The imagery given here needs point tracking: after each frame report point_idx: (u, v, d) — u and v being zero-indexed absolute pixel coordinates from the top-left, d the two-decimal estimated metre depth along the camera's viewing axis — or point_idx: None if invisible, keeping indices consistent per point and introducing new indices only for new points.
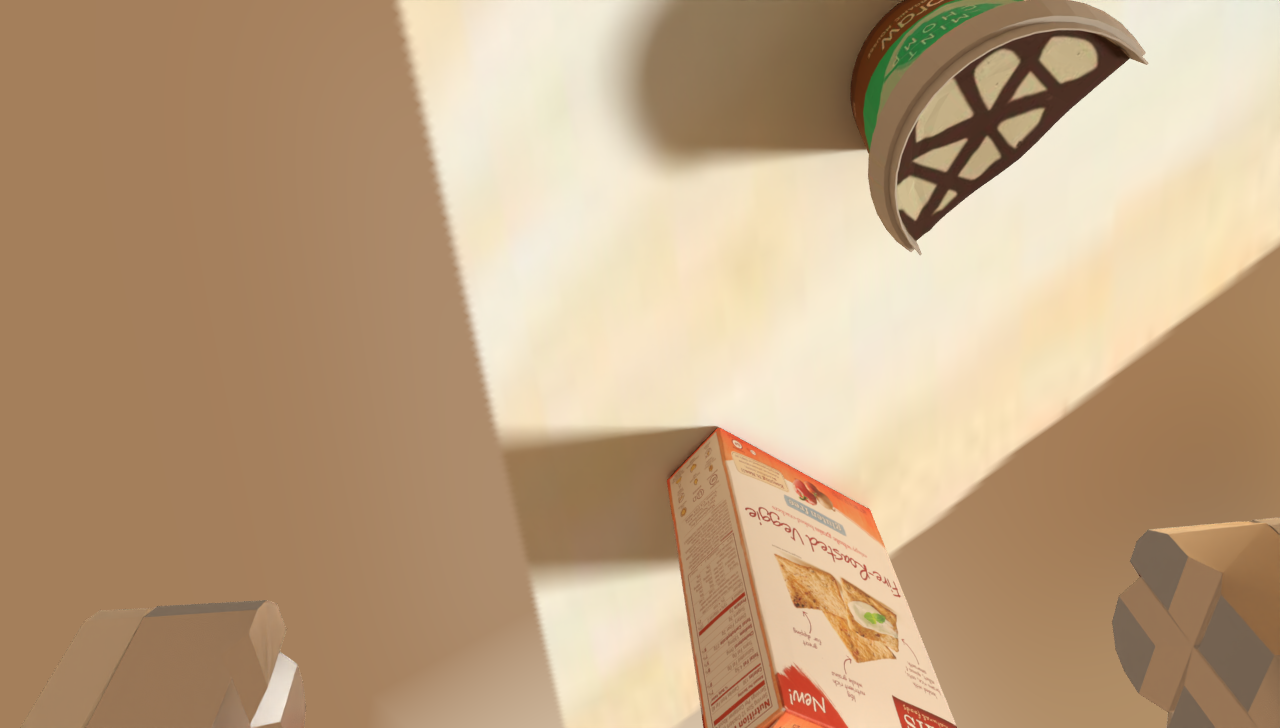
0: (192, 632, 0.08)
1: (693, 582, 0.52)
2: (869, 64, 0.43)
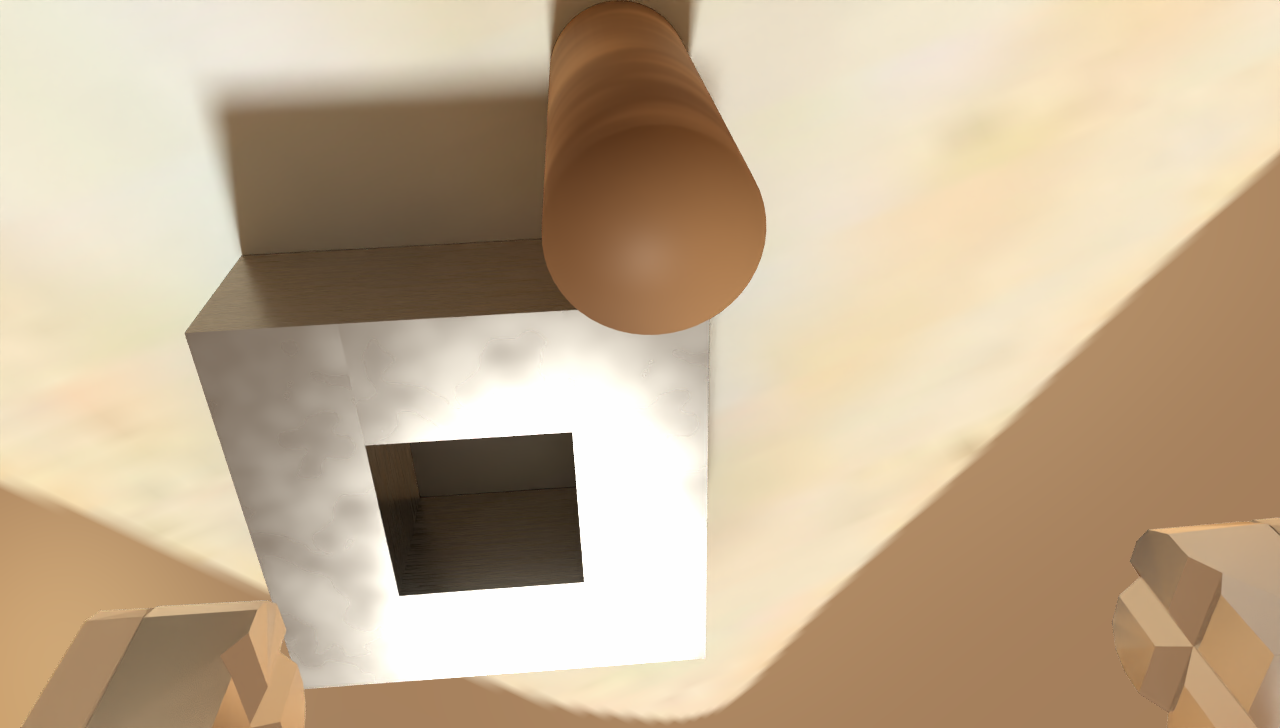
0: (192, 632, 0.08)
1: None
2: None
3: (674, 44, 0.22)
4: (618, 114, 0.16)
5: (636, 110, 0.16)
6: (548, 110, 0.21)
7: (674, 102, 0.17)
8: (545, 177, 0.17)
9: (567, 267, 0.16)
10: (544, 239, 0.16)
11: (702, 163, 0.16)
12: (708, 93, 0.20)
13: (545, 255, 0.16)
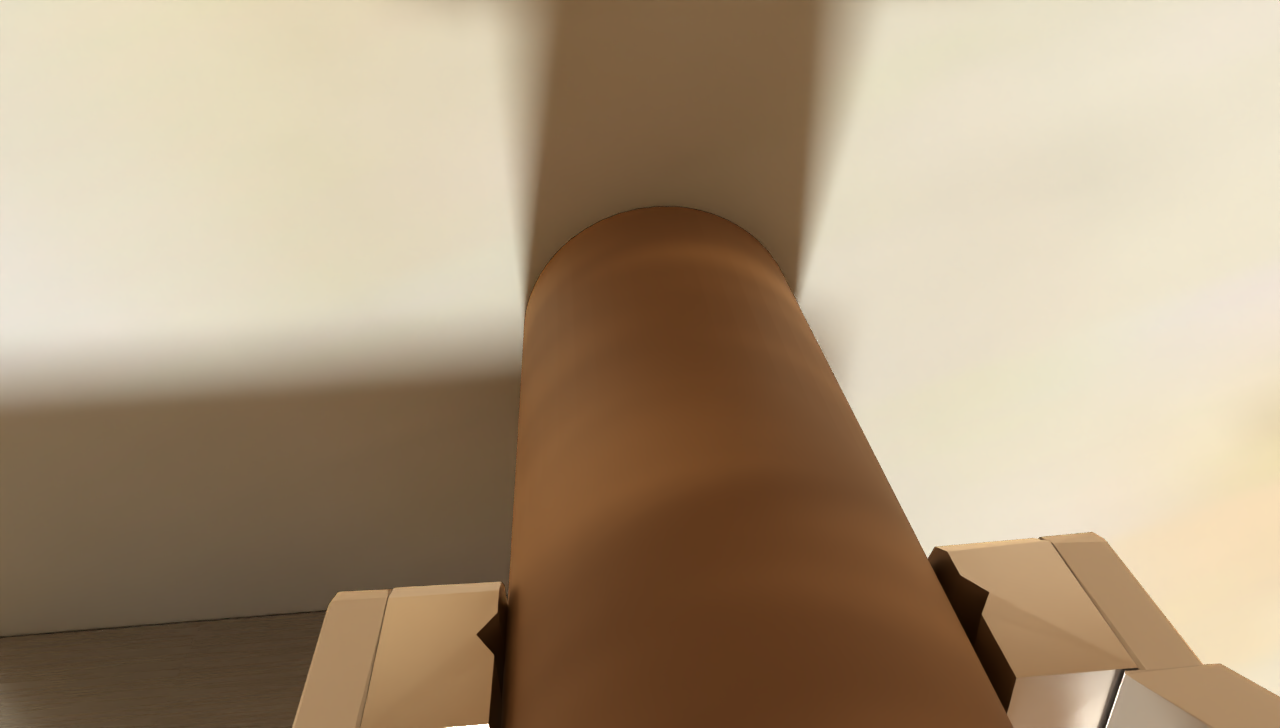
0: (441, 612, 0.08)
1: None
2: None
3: (813, 378, 0.09)
4: None
5: None
6: (511, 577, 0.09)
7: None
8: None
9: None
10: None
11: None
12: (947, 602, 0.07)
13: None
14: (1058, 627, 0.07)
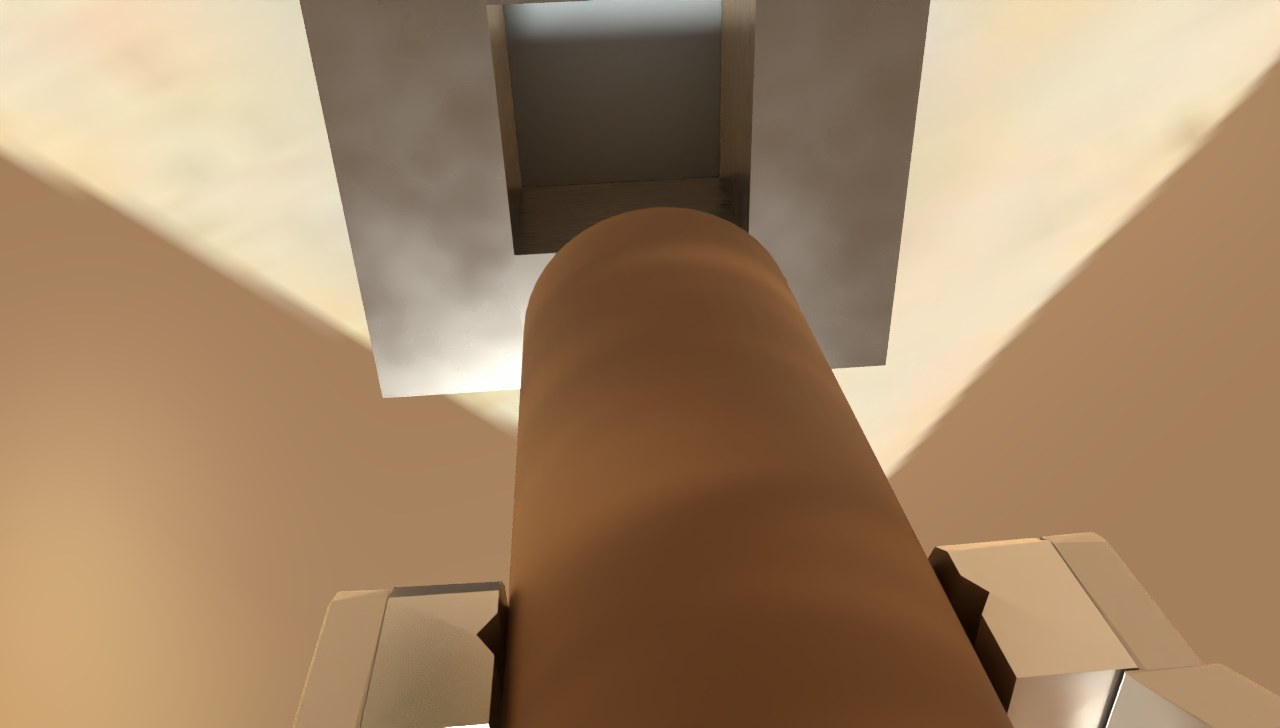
0: (441, 612, 0.08)
1: None
2: None
3: (814, 380, 0.09)
4: None
5: None
6: (511, 580, 0.09)
7: None
8: None
9: None
10: None
11: None
12: (949, 605, 0.07)
13: None
14: (1056, 626, 0.07)
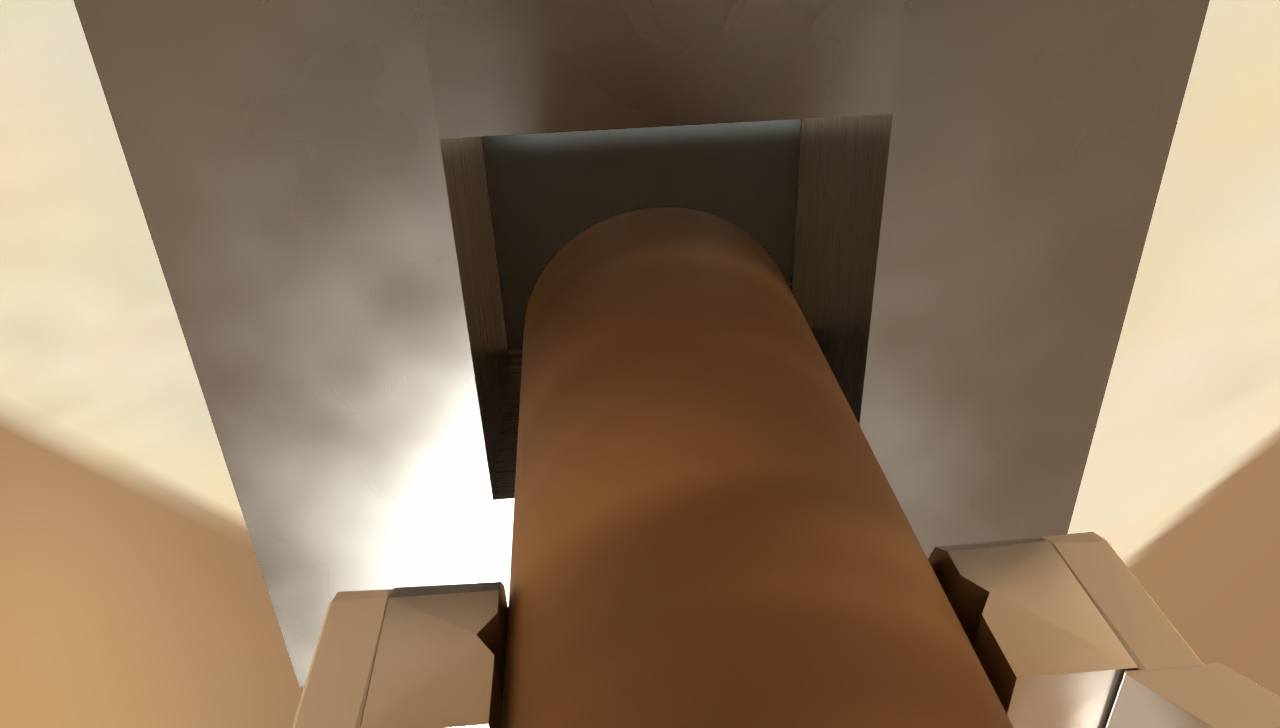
0: (441, 612, 0.08)
1: None
2: None
3: (814, 380, 0.09)
4: None
5: None
6: (511, 579, 0.09)
7: None
8: None
9: None
10: None
11: None
12: (949, 605, 0.07)
13: None
14: (1057, 628, 0.07)
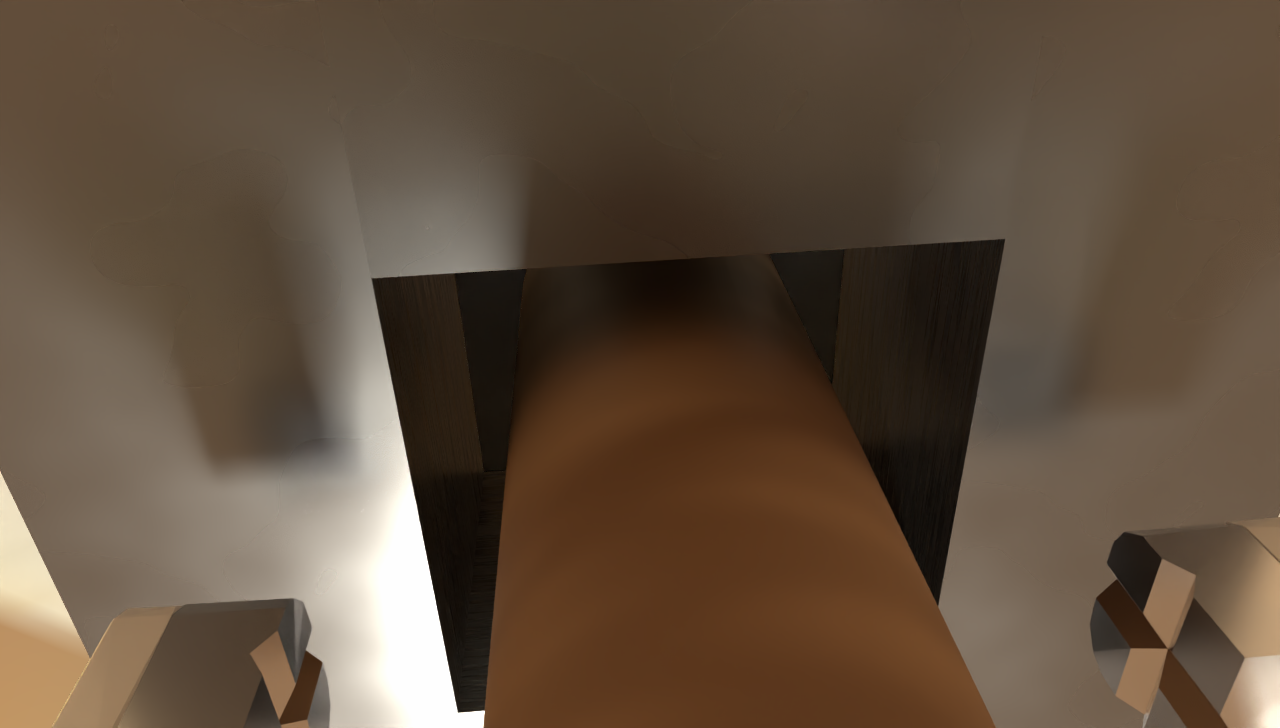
0: (221, 630, 0.08)
1: None
2: None
3: (783, 332, 0.10)
4: None
5: None
6: (503, 508, 0.09)
7: None
8: None
9: None
10: None
11: None
12: (895, 523, 0.08)
13: None
14: (1271, 609, 0.07)
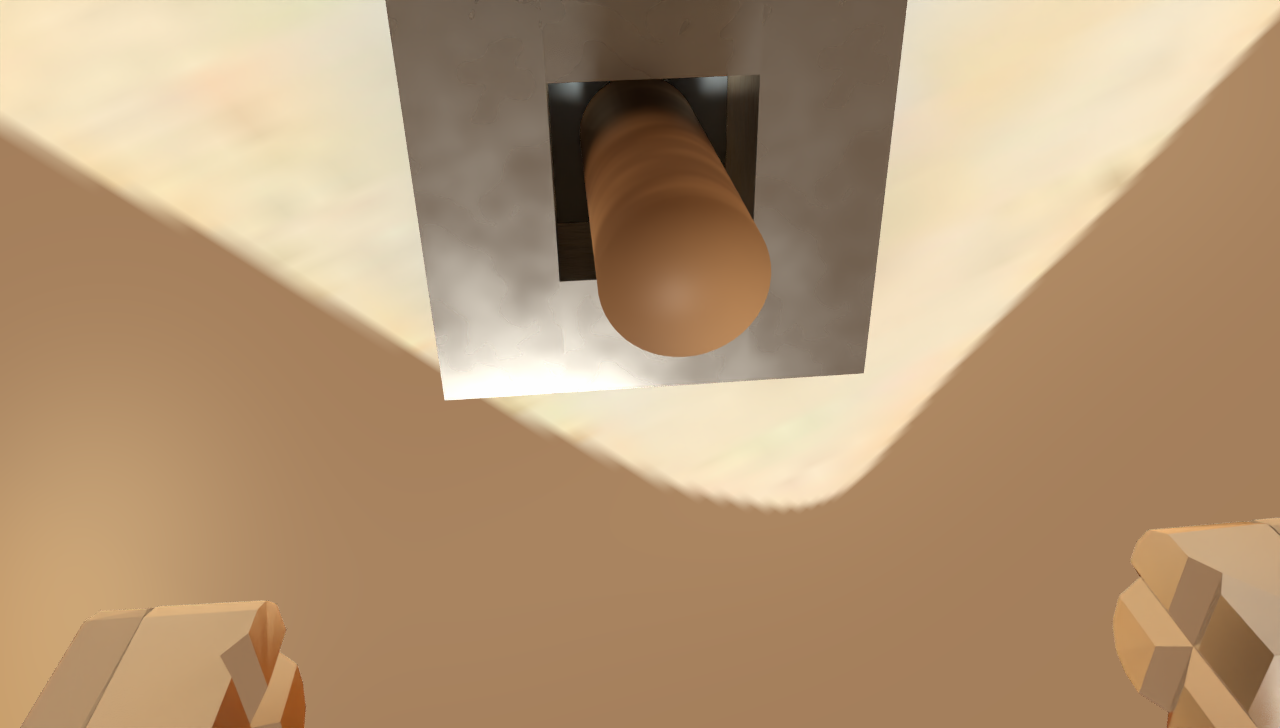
0: (192, 632, 0.08)
1: None
2: None
3: (689, 117, 0.27)
4: (657, 186, 0.21)
5: (670, 183, 0.21)
6: (587, 172, 0.26)
7: (699, 175, 0.21)
8: (595, 232, 0.22)
9: (616, 304, 0.21)
10: (599, 282, 0.21)
11: (722, 225, 0.20)
12: (720, 161, 0.25)
13: (599, 295, 0.21)
14: None
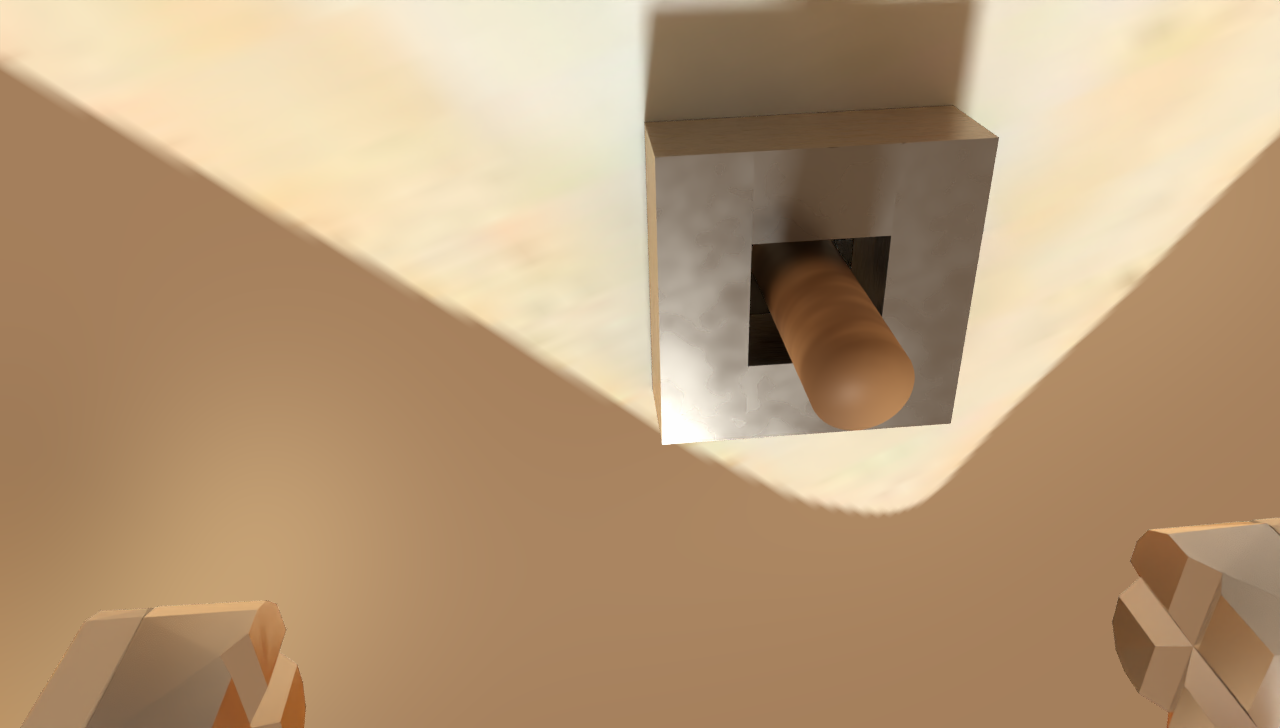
0: (192, 632, 0.08)
1: None
2: None
3: (840, 258, 0.40)
4: (845, 329, 0.34)
5: (854, 327, 0.34)
6: (775, 299, 0.40)
7: (868, 320, 0.35)
8: (800, 352, 0.36)
9: (819, 400, 0.34)
10: (810, 388, 0.34)
11: (888, 354, 0.34)
12: None
13: (810, 395, 0.34)
14: None
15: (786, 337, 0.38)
